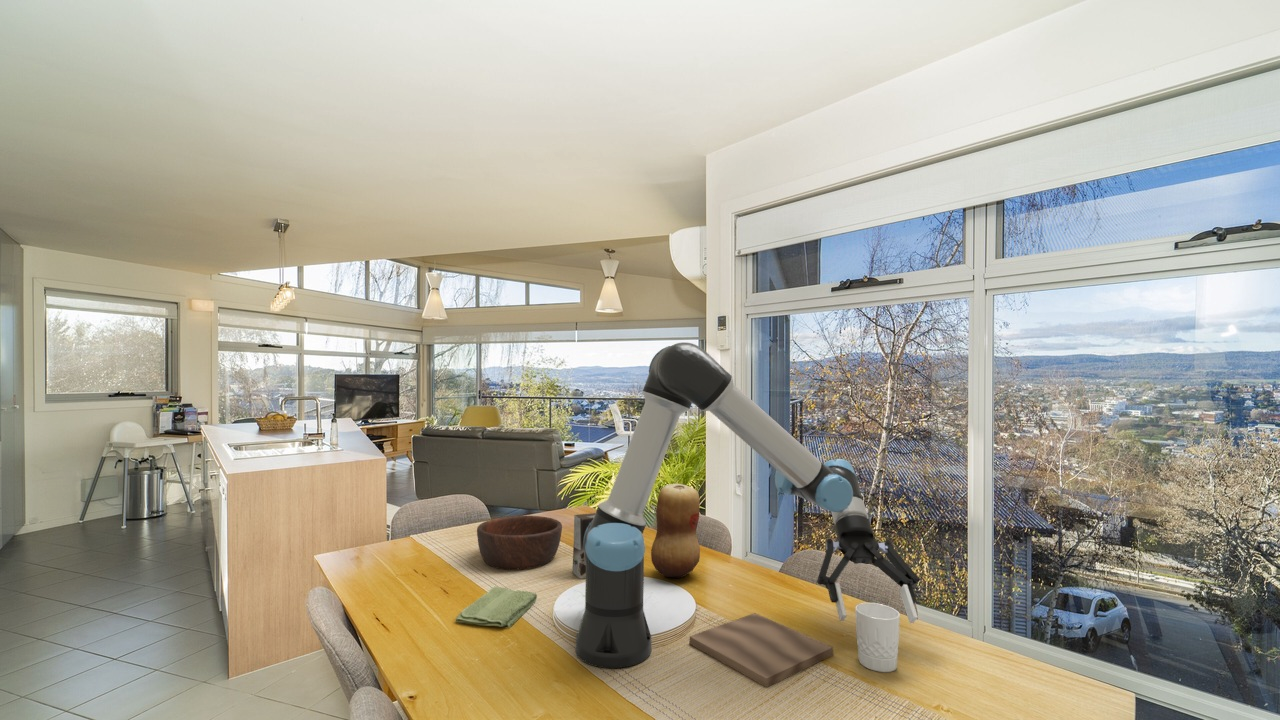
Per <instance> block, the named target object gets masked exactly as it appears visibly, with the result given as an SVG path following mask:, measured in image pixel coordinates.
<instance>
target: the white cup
mask: <svg viewBox="0 0 1280 720" xmlns="http://www.w3.org/2000/svg"><path fill="white" fill-rule="evenodd" d="M854 611H855V612H854V613H855V630H856V642H857V643H856V644H857V645H856V646H857V653H858V661H859V663H860V664H861V665H862V666H863V667H865V668H867V669H868V670H872V671H874V672H879V673H891V672H893V671H896V669H897V668H898V653H899V642H900V620H901V618H900V616H901V614H900V612H899V611H898V610H897V609H896V608H893V607H891V606H889V605H885V604H881V603H877V602H861V603H858V604H856V606H855V608H854Z"/></svg>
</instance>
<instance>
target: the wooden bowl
mask: <svg viewBox="0 0 1280 720" xmlns="http://www.w3.org/2000/svg"><path fill="white" fill-rule="evenodd" d="M562 530H563V525H562V522H561V521H559V520H557V519H555V518H551V517H547V516H539V515H515V516H514V515H513V516H511V515H510V516H503V517H502V516H501V517H497V518H493V519H489V520H487V521H484V522H482V523H480V524H479V525H478V526H477V528H476V536H477V543H478V549H479V553H480V555H481V557H482V559H483V561H484V563H486V564H487V565H488V566H490V567H492V568H496V569H500V570H501V569H502V570H527V569H528V570H529V569H533V568H538V567H541V566H543V565H547V564H548V563H550V562H551V561H552V560H553V559H554V557H555V556H556V554H557V551H558V549H559V546H560V542H561V538H562Z"/></svg>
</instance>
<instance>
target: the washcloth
mask: <svg viewBox="0 0 1280 720" xmlns="http://www.w3.org/2000/svg"><path fill="white" fill-rule="evenodd" d="M537 598H538V594H537V593H536V592H533V591H527V590H525V591H524V590H519V589H516V590H514V589H509V588H507V587H506V588H505V587H501V586H493V587H491V588H490V589H489V590H488V592H487V591H486V593H484V594H482V595H481V596H480V597H479V598H477V599H476V600H475V601H474V602H472V603H471V604H469V605H468V606H466V607H465V608H464V609H462V610H461V611H460V613H459V614H458V615H457V616H456V618H455V622H456V623H457V622H458V623H459V624H466V625H467V624H468V625H477V626H484V627H485V626H486V627H490V626H491V627H493V626H494V627H500V628H506V629H510V628H511V627H512V626H513V625H515V624H516V622H517V621H518V620H520V618H521V617H522V616H523V615H524V614H525V613H526V612H527V611H528V610H529V609H531V607H532V606H533V605H534V604H535V603H536V602H537Z"/></svg>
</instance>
